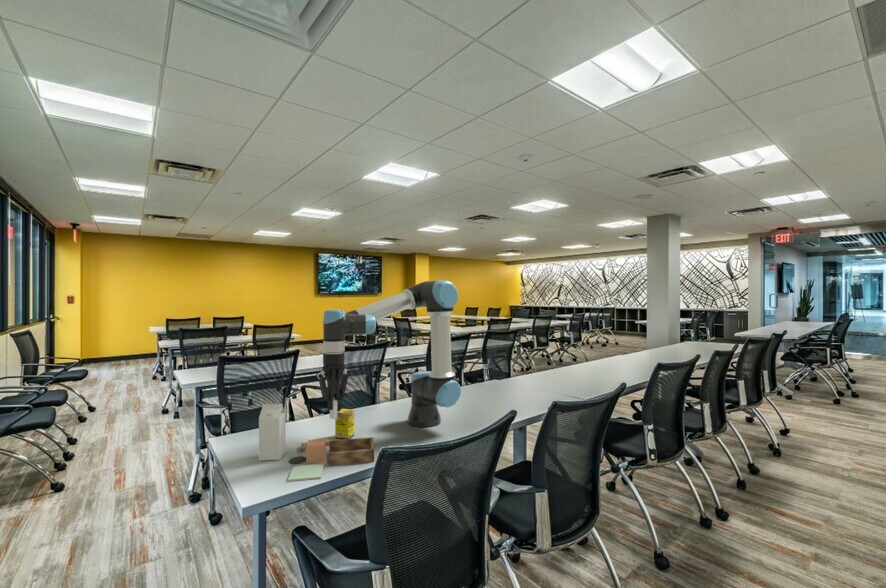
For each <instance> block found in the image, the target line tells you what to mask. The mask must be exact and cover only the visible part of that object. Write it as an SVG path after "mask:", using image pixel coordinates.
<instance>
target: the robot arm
mask: <svg viewBox="0 0 886 588" xmlns="http://www.w3.org/2000/svg"><path fill="white" fill-rule="evenodd" d="M458 301H459V292H458V288H457V287H456V286H455V285H454V284H453V283H452V282H451V281H449V280H445V279H444V280H442V279H441V280H439V279H438V280H432V281H431V280H427V281H422V282H419V283H417V284H415V285H412V286H410V287H406V288H404V289H403V290H402V292H401V293H397V294H395V295H392V296H389V297H386V298H384V299H381V300H378V301H375V302H373V303H370V304H367V305H365V306H361V307H358V308H356V309H353V310H350V311H348V312H345V310H344V309H327V310H324V312H323V318H322V319H323V320H322V324H323V325H322V326H323V327H322V328H323V329H322V331H323V332H322V335H323V340H322V343H323V344H322V351H323V352H324V353H323V352H322V354H323V355H322V364H323V366H322V369H321V371H320V372H317V373H316V374H315V377H316V378H317V380H318V384H319V388H320V389H319V390H320V393H321V397H322V399H323V400H325V401H327V409H328V410H329V419H332V420H335V419H337V412H338V409H340V401H341V400H342V398H344V397H345V395H346V390H347V384H348V381H349V376H350V375H351V372H352V371H351V369H350V370H349V369H347V368H346V366H345V351H346V349H345V347H346V346H345V345H346V343H345V341H346V339H345V338H346V337H345V336H359V335H360V336H361V335H365V336H366V335H372V334H374V332H375V331H376V327H377V321H380V320H381V319H382V320H383V319H385V318H387V317H390V316H392V315H393V316H394V315H395V314H397V313H400V312H402V311H405V310H414V309H416V308H426V313H427V315H429V317H430V319H429V321H430V322H429V323H430V346H431V347H430V349H431V351H430V352H431V370H429V371H418V372H417V371H416V372H414V373H412V375H411V378H410V379H411V380H410V382H411V383H410V385H411V407H410V410H409V412H408V417H407V424H408V425H409V426H412V427H417V428H429V427H434V426H438V425H440V424H441V420H442V418H441V414H440V410H439V408H440V407H443V408H451V407H453V406H455V405H456V404H457V402H458V401H459V400H460V397H461V395H462V387H461V384H460V383H459V382H458V381H456V373H455V372H454V371H453V370H452V366H453V365H452V339H451V338H452V336H451V335H452V334H451V315H452V313H454V307H455V306H456V305H457V303H458ZM325 377H326V379H325ZM326 382H327V383H326ZM438 407H439V408H438Z"/></svg>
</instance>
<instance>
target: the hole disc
mask: <svg viewBox="0 0 886 588" xmlns="http://www.w3.org/2000/svg"><path fill="white" fill-rule="evenodd" d="M304 462H306V456H303V455H302V456H301V455H299V456H293V457H290V459H289V458H288V463H289V464H292V465H298V464H302V463H304Z"/></svg>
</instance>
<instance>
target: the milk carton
mask: <svg viewBox="0 0 886 588" xmlns="http://www.w3.org/2000/svg"><path fill="white" fill-rule="evenodd" d="M283 405H284V404H283V403H268V404H265V403H262V407H261V411H260V412H259V413H260V414H259V417H258V461H279V460H281V458H282V457H283V456H284V454H286V410H285V408H284V407H283Z"/></svg>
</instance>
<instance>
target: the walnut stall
mask: <svg viewBox="0 0 886 588" xmlns="http://www.w3.org/2000/svg"><path fill="white" fill-rule="evenodd" d="M329 440H330V445H329V452H326V466H335V465H336V466H337V465H346V464H358V463H370V462H371V463H372V462H374V461H375V448H374V447H375V444H374V437H373V436H371V437H359V438H357V437H356V438H350V439H343V440H334V439H329Z"/></svg>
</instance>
